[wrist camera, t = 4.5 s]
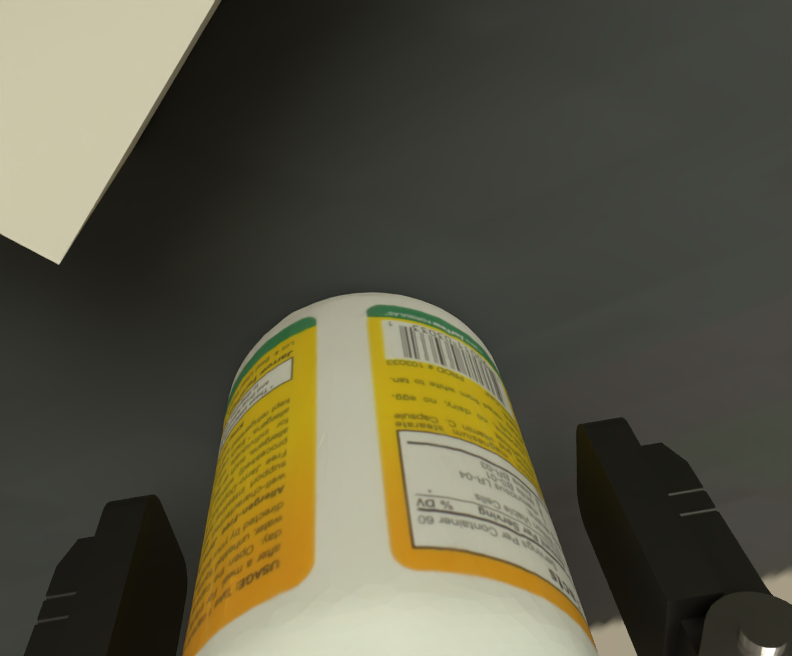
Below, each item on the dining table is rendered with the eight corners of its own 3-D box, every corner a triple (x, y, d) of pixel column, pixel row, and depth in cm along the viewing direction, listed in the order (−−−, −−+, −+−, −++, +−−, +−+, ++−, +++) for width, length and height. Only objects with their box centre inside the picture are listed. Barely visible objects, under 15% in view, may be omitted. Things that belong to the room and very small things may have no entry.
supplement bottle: (487, 260, 14) (750, 853, 5) (506, 478, 16) (698, 1084, 8) (192, 310, 14) (7, 983, 5) (262, 520, 16) (210, 1169, 8)
